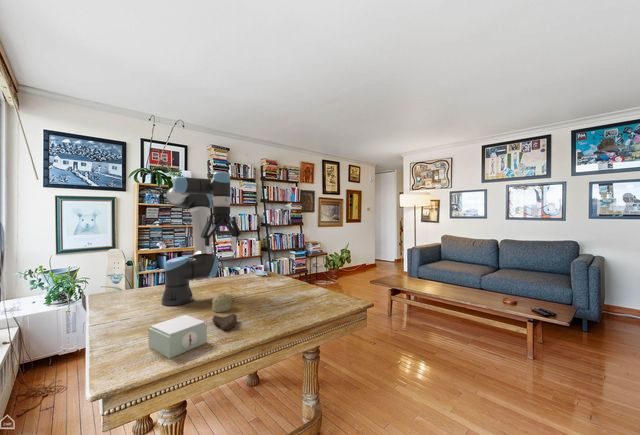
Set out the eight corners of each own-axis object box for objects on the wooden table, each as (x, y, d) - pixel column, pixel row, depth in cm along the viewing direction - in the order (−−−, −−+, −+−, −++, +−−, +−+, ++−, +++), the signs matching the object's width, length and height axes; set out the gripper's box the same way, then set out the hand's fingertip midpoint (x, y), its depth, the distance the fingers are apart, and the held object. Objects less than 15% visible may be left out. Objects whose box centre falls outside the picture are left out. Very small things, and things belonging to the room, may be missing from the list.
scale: (148, 347, 100) (148, 325, 99) (185, 333, 111) (185, 314, 111) (170, 359, 91) (170, 335, 91) (208, 342, 103) (208, 322, 103)
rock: (212, 322, 122) (212, 314, 122) (236, 320, 125) (237, 312, 125) (209, 332, 111) (209, 323, 111) (236, 330, 114) (236, 321, 114)
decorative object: (232, 316, 138) (238, 297, 144) (220, 310, 131) (227, 290, 136) (216, 316, 141) (223, 297, 147) (204, 309, 133) (212, 289, 139)
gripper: (202, 205, 115) (202, 255, 115) (248, 206, 136) (248, 249, 136) (191, 205, 119) (192, 254, 120) (237, 206, 140) (238, 248, 140)
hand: (222, 251), depth 128 cm, fingers open, 13 cm apart
